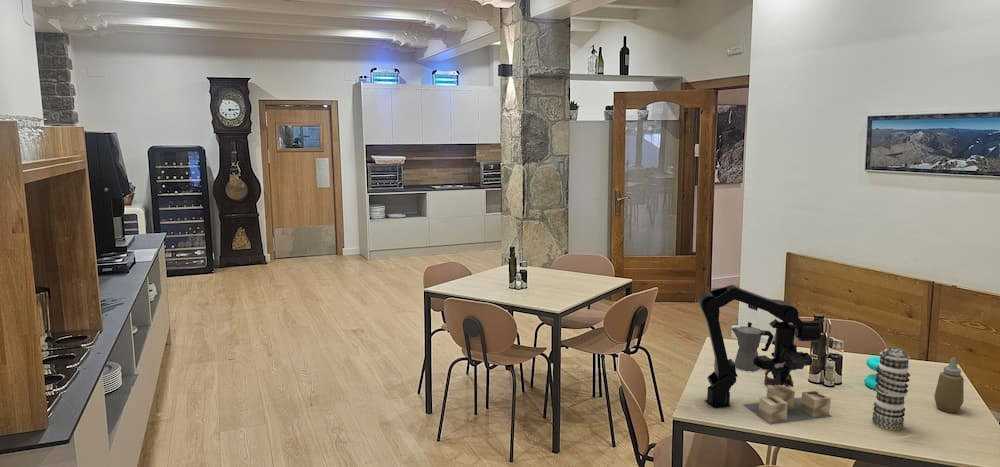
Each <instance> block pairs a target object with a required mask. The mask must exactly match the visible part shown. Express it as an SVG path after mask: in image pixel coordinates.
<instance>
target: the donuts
mask: <svg viewBox="0 0 1000 467" xmlns="http://www.w3.org/2000/svg"><path fill="white" fill-rule="evenodd" d="M880 357H881V356H870V357H868V358H867V359H866V360H865V364H866V366H867V367H868V368H869V369H870V370H872V371H874V372H877V371H876V367H877V366H878V365H879V362H880ZM879 371H880V369H879ZM876 374H877V373H874V374H873V373H871V374H868V375H867V376H865V377H864V379H863V380H864V384H865V385H866V386H867V387H869V389H870V388H871V389H872V390H876V386H875V385H876V384H877V382H876ZM878 381H879V380H878ZM876 391H877V390H876Z"/></svg>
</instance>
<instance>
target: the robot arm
mask: <svg viewBox="0 0 1000 467" xmlns="http://www.w3.org/2000/svg"><path fill="white" fill-rule="evenodd" d="M734 300H735V301H738V302H741V303H744V304H746V305H749V306H752V307H753V308H754V307H755V308H757V309H760V310H763V311H765V312H768V313H769V314H771V315H773V316H774V317H776V318H775V319H773V321H771V322H769V326H771V327H772V329H775V336H774V337H775V339H774V340H772V342H771V344H772V345H774V350H773V352H771V354H770V355H771V356H772V357H771V358H770V357H769V356H766V355H758V356H756V357H755V358H754V360H753V364H754V365H756V366H758V367H759V369H761V370H763V371H766V370H770V369H773V371H774V373H775V375H776V378H777V380H778V383H779V385H783V384H784V383H786V382H785V380H786V378H787V376H788V375H789V373H790V374H791V372H792V371H796V370H804V367H805V366H812V365H813V358H812V356H811V355H810V354H809V352H804V351H797V350H798V348H797V345H796V344H794V343H795V338H796V339H797V340H798V341H799V342H811V343H812V342H813V343H814V342H815V343H816V342H817V343H819V342H820V341H821V335H822V334H821V329H820V325H819V324H820V323H819V322H818V321H817V320H802V319H800V317H799V311H798V308H797V307H796V306H794V305H793V304H792V303H791V302H789V301H786V300H782V299H781V300H780V299H771V298H767V297H765V296H762V295H760V294H756V293H754V292H751V291H748V290H746V289H743V288H741V287H739V286H736V285H735V284H730V285H729V284H728V285H726V286H725V287H721V288H720V287H719V288H716V289H712V290H710V291H703V292H701V293H700V294H699V295H698V296H697V303H698V305H699V308H700V310H701V312H702V315H703V316H704V319H705V321H706V325H707V326H706V327H707V330H708V333H709V334H708V335H709V339H710V344H711V346H712V351H713V354H714V364H713V365H714V371H712V372H711V374H709V375H708V376H707V380H708V383H709V384H710V385H709V386H707V393H706V399H704V402H705V403H707V404H708V405H709V406H710V407H711V408H713V409H722V408H723V409H724V408H730V407H732V405H731V404H730V400H731V399H730V397H731V392H730V390H731V388H732V387H733V386H735V383H737V378H738V377H739V375H738V374H737V370H736V368H737V367H736V366H735V362H734V361H733V359H732V358H730V359H729V358H728V354H727V350H726V345H725V341H724V337H723V332H722V329H721V324H720V312H721V311H720V308H723V307H724V306H726V305H727V304H730V303H731V302H732V301H734ZM778 319H779V320H781V321H779V320H778Z"/></svg>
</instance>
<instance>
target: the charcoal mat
mask: <svg viewBox="0 0 1000 467" xmlns="http://www.w3.org/2000/svg"><path fill="white" fill-rule="evenodd" d="M801 399H802V396H801V397H794V408H793V409H788V410H787V420H786V421H782V422H774V423H769V422H768V421H766V420H765V419H764V418H762V417H761V416H759V415H758V412H759V402H753V403H745V404H742V406H744V407H745V408H746V409H747V410H749V411H751V412H752V413H754V415H756V416H758V417H759V418H761V419H762V420H763V421H765V422H766V423H767V424H769V425H771V426H773V425H779V424H787V423H794V422H802V421H807V420H808V421H811V420H817V419H824V418H832V417H833V416H834V415H831V414H830V413H829V415H827V416H820V417H812V416H810V415H809V414H807V413H806V412H804V411H802V410H801Z"/></svg>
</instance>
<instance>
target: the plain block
mask: <svg viewBox="0 0 1000 467" xmlns="http://www.w3.org/2000/svg"><path fill="white" fill-rule="evenodd" d="M766 386H767V388H766V391H767V392H766V397H768V396H777V397H779V398H780V399H782V400H783V401H785V402H787V403H788V407H787V410H788V409H793V408H794V398H795V395H796V393H795V391H794V390H793V389H791V388H790V387H788V386H786V385H775V386H772V385H766Z"/></svg>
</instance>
